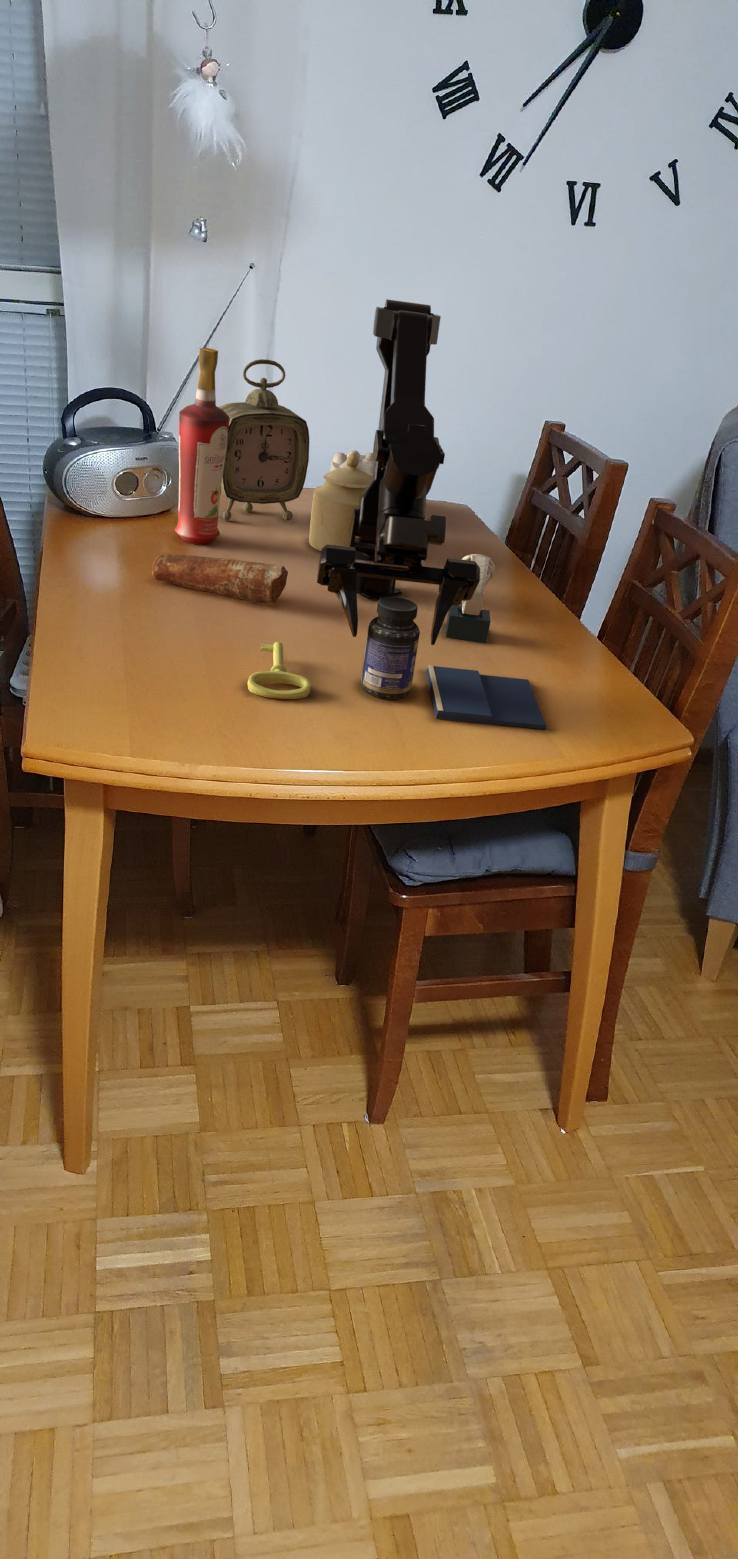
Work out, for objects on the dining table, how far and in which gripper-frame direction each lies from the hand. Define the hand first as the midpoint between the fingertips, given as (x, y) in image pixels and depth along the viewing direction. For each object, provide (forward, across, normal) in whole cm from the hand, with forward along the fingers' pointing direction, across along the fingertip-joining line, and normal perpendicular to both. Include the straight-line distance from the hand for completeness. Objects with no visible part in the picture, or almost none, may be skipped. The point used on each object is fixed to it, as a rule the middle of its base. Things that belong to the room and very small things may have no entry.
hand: (394, 639), depth 139 cm
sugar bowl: (-34, -2, +44) cm, 56 cm away
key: (+4, -13, +6) cm, 15 cm away
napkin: (+4, +12, +6) cm, 14 cm away
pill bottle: (+4, 0, +6) cm, 8 cm away
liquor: (-30, -26, +41) cm, 57 cm away
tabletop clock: (-41, -19, +52) cm, 69 cm away
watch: (-11, +12, +21) cm, 27 cm away
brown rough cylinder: (-15, -22, +25) cm, 36 cm away
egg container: (-56, -1, +55) cm, 78 cm away
